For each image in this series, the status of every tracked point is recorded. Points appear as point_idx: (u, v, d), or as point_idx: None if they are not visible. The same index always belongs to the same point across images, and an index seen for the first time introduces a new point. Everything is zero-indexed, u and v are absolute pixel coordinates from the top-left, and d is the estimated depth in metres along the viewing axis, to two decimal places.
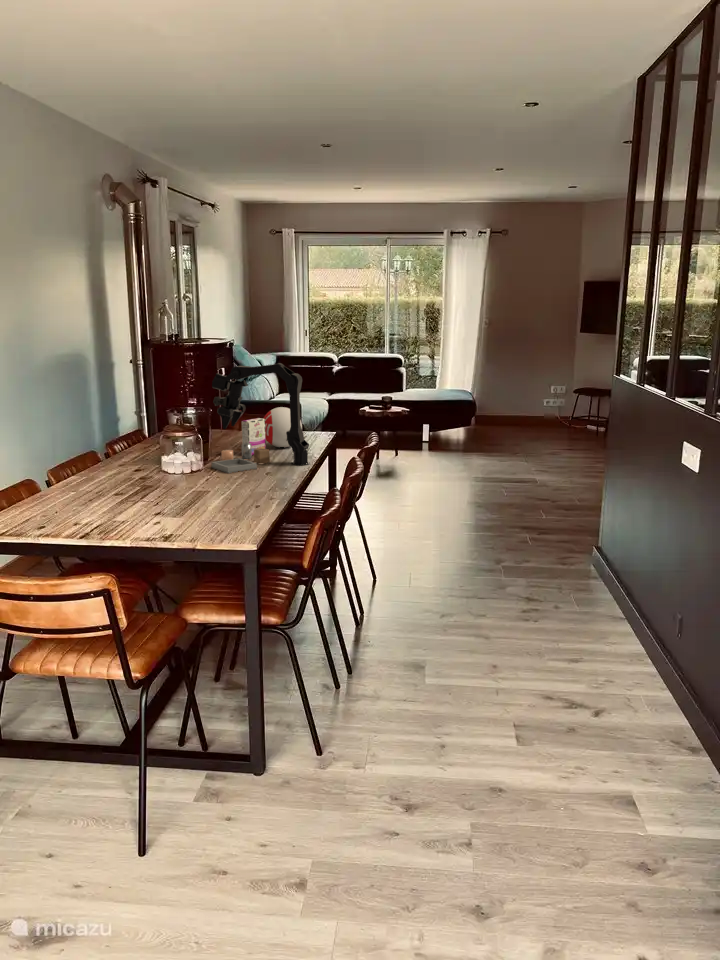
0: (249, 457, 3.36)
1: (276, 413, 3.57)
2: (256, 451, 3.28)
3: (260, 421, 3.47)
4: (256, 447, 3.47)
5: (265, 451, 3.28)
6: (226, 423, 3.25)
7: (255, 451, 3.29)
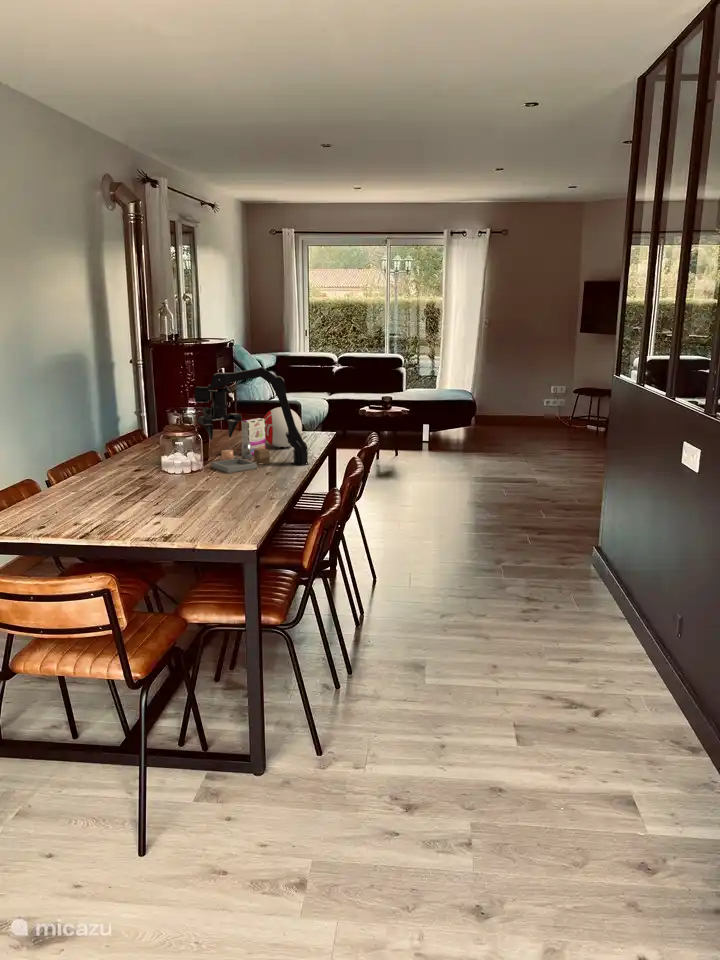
0: (249, 457, 3.36)
1: (276, 413, 3.57)
2: (256, 451, 3.28)
3: (260, 421, 3.47)
4: (256, 447, 3.47)
5: (265, 451, 3.28)
6: (209, 433, 3.17)
7: (255, 451, 3.29)
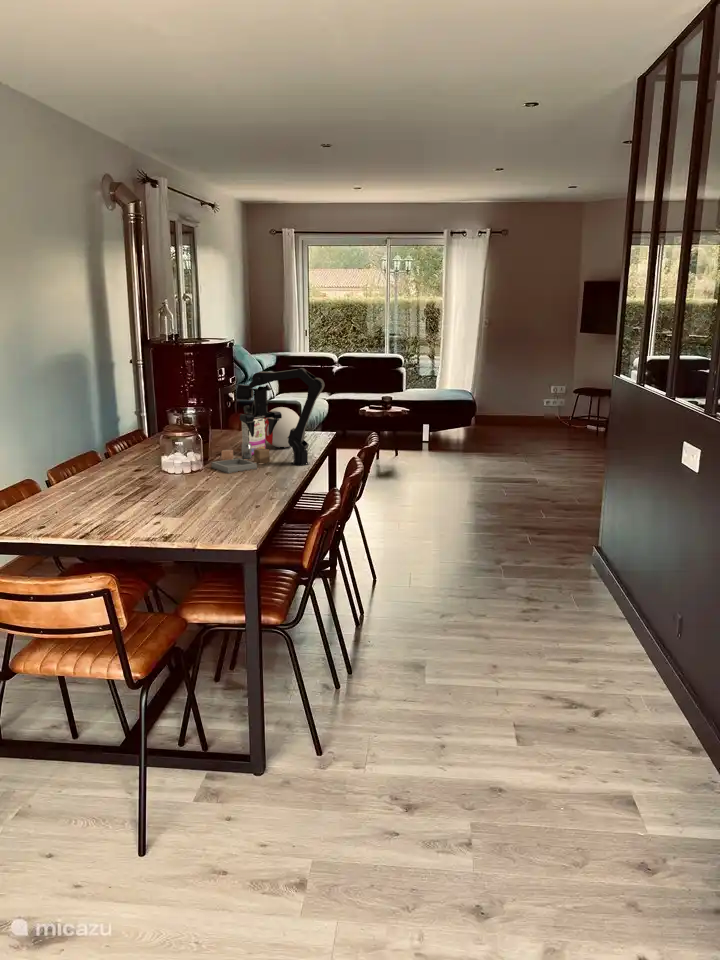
0: (249, 457, 3.36)
1: None
2: (256, 451, 3.28)
3: (260, 421, 3.47)
4: (256, 447, 3.47)
5: (265, 451, 3.28)
6: (251, 430, 3.23)
7: (255, 451, 3.29)
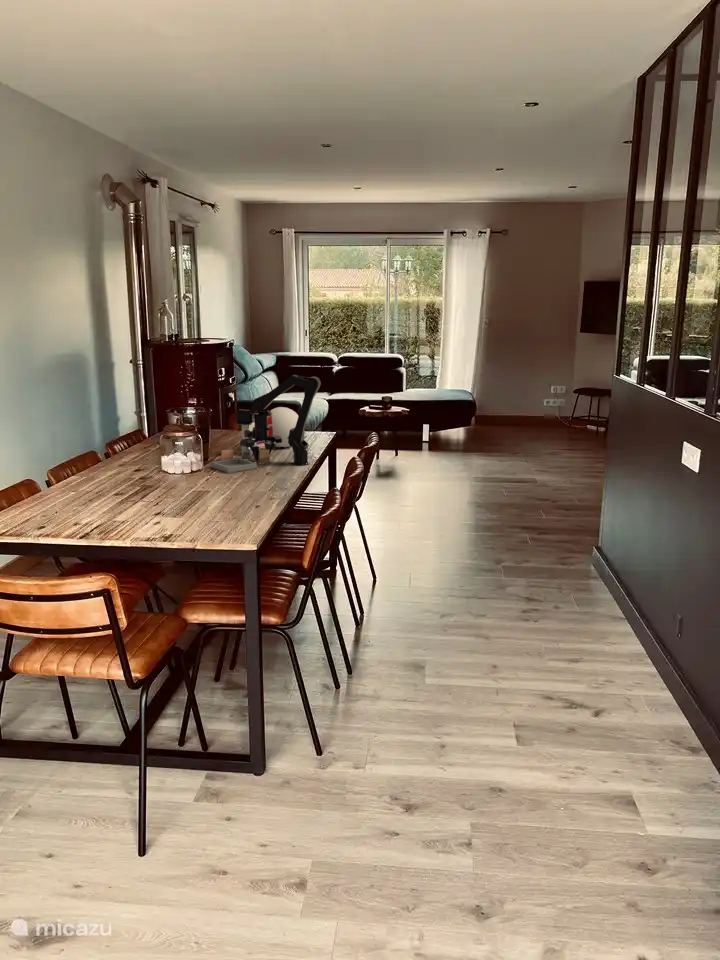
0: (249, 457, 3.36)
1: (276, 413, 3.57)
2: None
3: None
4: None
5: (265, 451, 3.28)
6: (255, 454, 3.27)
7: None
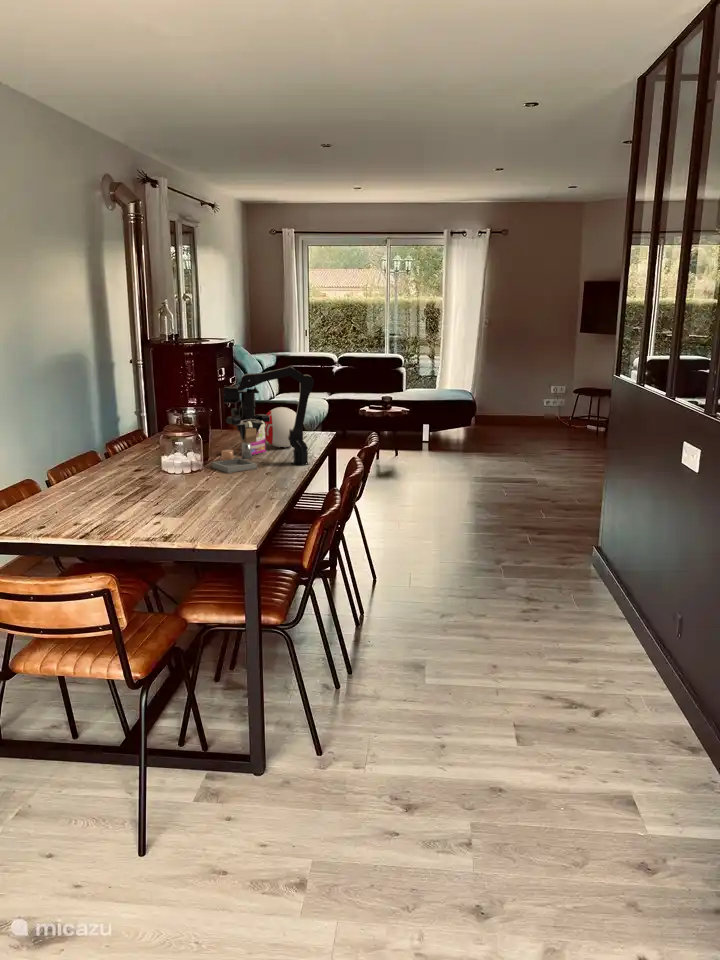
0: (249, 457, 3.36)
1: (276, 413, 3.57)
2: None
3: None
4: (256, 447, 3.47)
5: (252, 430, 3.20)
6: (241, 433, 3.19)
7: None
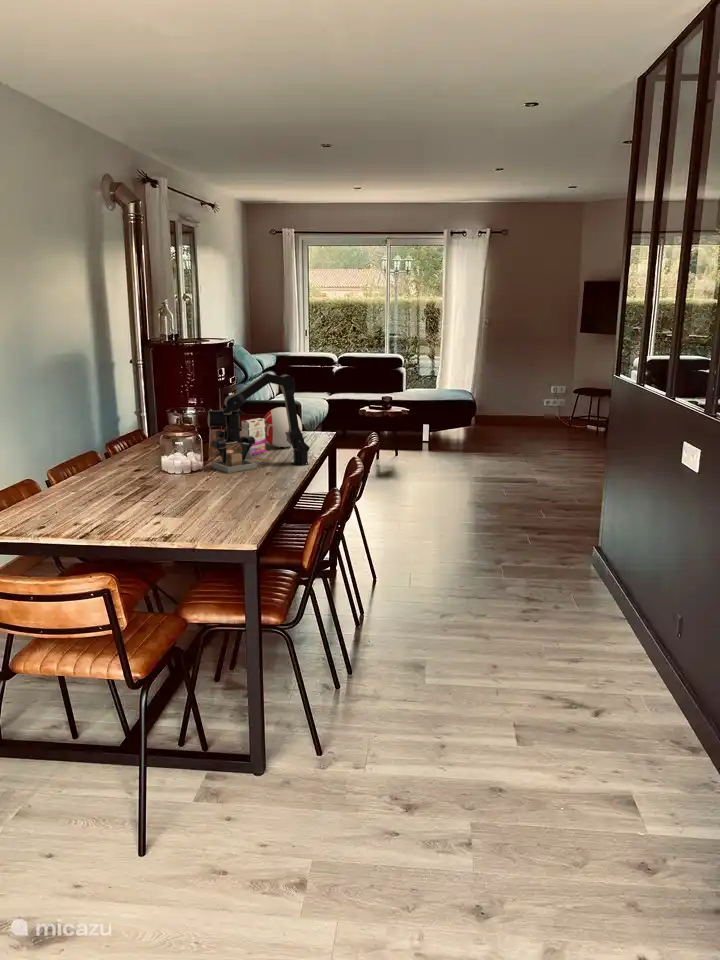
0: (249, 457, 3.36)
1: (276, 413, 3.57)
2: (228, 455, 3.16)
3: (260, 421, 3.47)
4: (256, 447, 3.47)
5: (237, 455, 3.16)
6: (223, 456, 3.13)
7: (227, 455, 3.16)
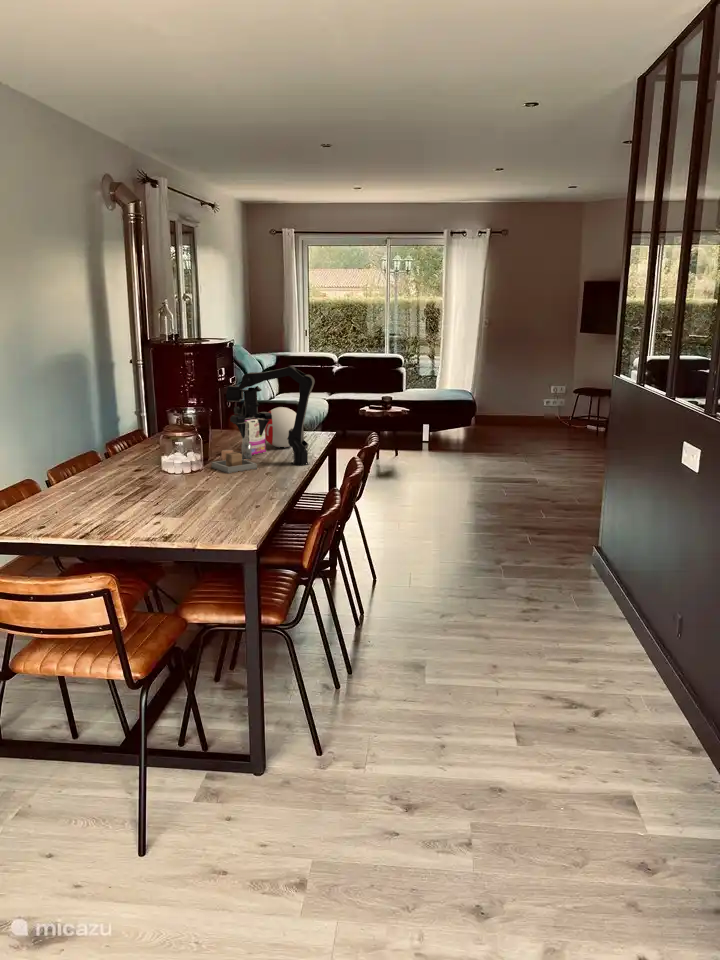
0: (249, 457, 3.36)
1: (276, 413, 3.57)
2: (228, 455, 3.16)
3: None
4: (256, 447, 3.47)
5: (237, 455, 3.16)
6: (242, 431, 3.23)
7: (227, 455, 3.16)
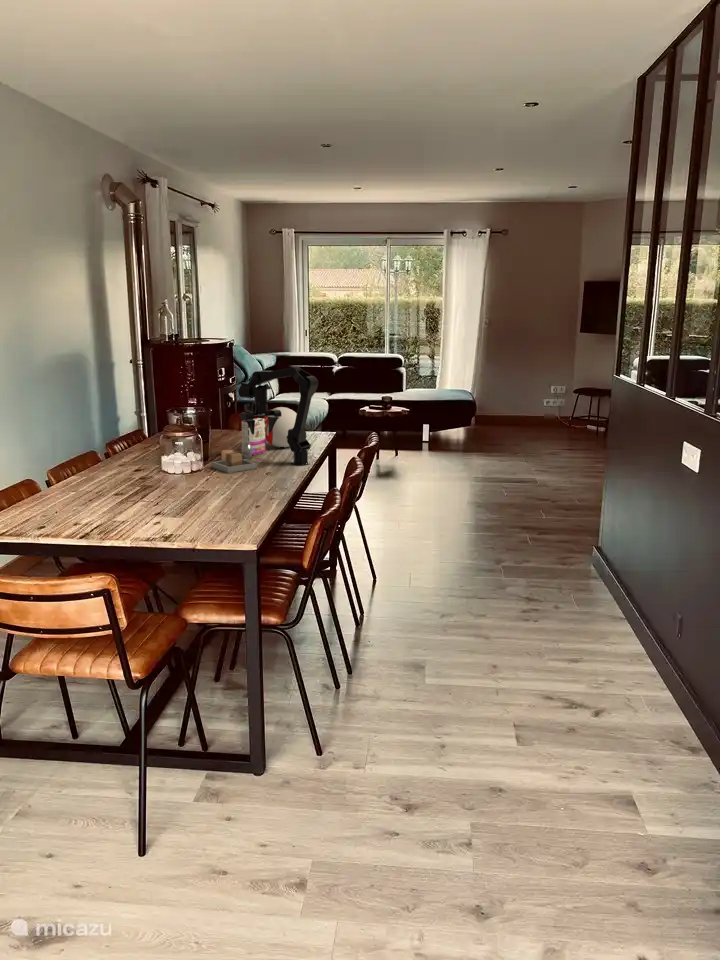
0: (249, 457, 3.36)
1: None
2: (228, 455, 3.16)
3: (260, 421, 3.47)
4: (256, 447, 3.47)
5: (237, 455, 3.16)
6: (251, 428, 3.30)
7: (227, 455, 3.16)
